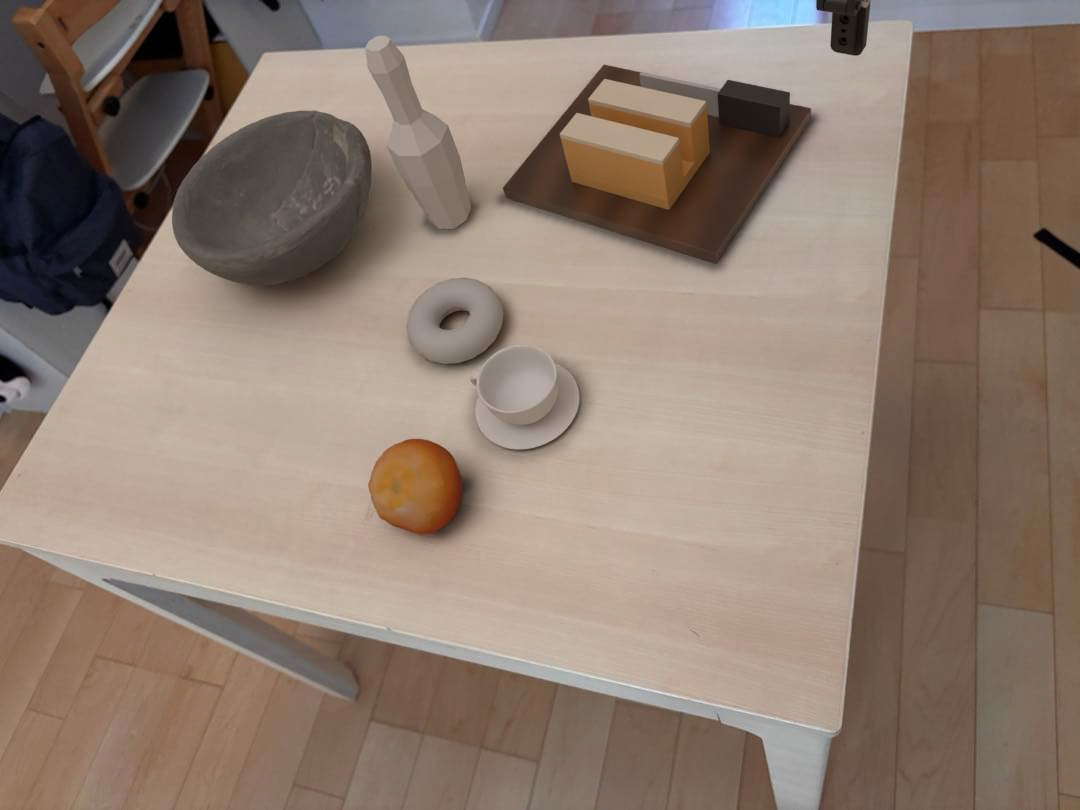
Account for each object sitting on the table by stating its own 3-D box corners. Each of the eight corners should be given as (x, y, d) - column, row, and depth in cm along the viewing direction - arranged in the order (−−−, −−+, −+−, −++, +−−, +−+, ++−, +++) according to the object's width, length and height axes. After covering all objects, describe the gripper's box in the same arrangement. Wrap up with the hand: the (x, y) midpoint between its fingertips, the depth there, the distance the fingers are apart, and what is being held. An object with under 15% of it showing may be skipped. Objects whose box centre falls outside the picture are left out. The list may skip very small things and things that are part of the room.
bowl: (263, 167, 110) (222, 103, 102) (421, 172, 103) (391, 103, 94) (178, 309, 99) (124, 250, 91) (348, 326, 92) (306, 263, 84)
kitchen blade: (789, 123, 91) (790, 91, 88) (779, 138, 90) (780, 107, 87) (649, 92, 99) (644, 62, 96) (638, 105, 98) (634, 75, 95)
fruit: (495, 457, 77) (446, 457, 70) (468, 540, 78) (417, 548, 71) (424, 427, 80) (371, 424, 73) (399, 506, 81) (344, 511, 74)
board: (810, 119, 93) (811, 108, 92) (716, 263, 85) (715, 253, 84) (605, 74, 105) (603, 64, 104) (505, 197, 97) (502, 187, 96)
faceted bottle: (413, 226, 98) (332, 58, 80) (445, 188, 100) (373, 17, 82) (456, 241, 95) (382, 71, 77) (488, 202, 97) (423, 27, 79)
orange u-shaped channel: (710, 152, 92) (706, 100, 86) (669, 210, 88) (662, 160, 83) (613, 128, 97) (604, 78, 92) (571, 181, 94) (559, 133, 88)
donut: (525, 309, 88) (447, 280, 92) (518, 287, 85) (438, 259, 89) (472, 384, 84) (393, 351, 88) (462, 364, 81) (381, 331, 85)
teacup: (594, 372, 81) (586, 342, 78) (558, 462, 77) (547, 435, 73) (500, 354, 85) (487, 325, 81) (460, 439, 81) (444, 412, 77)
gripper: (920, -185, 43) (886, 88, 56) (1018, -318, 48) (965, -40, 61) (778, -191, 46) (777, 67, 60) (883, -315, 51) (861, -52, 65)
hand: (872, 13), depth 60 cm, fingers open, 8 cm apart
